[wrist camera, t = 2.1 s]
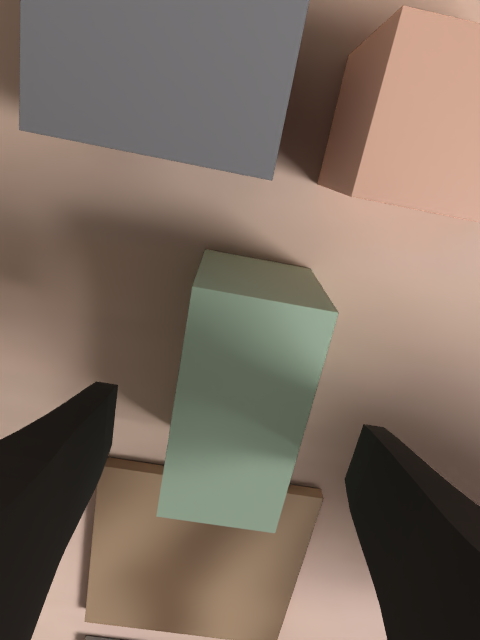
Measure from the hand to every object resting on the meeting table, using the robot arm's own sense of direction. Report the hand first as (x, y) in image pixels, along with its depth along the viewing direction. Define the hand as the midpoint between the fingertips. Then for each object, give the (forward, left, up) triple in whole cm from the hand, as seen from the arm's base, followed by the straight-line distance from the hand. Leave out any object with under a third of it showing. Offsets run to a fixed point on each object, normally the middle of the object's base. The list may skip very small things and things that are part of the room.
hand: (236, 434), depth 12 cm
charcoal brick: (+3, -9, -6) cm, 11 cm away
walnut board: (0, +11, -5) cm, 12 cm away
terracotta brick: (-5, -9, -6) cm, 12 cm away
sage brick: (0, 0, -6) cm, 6 cm away
